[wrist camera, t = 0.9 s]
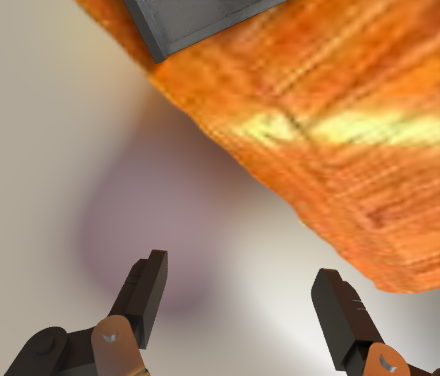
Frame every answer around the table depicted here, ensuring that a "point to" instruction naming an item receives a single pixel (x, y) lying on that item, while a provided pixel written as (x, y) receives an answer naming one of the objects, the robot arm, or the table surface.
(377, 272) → the table surface
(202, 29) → the track
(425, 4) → the table surface
